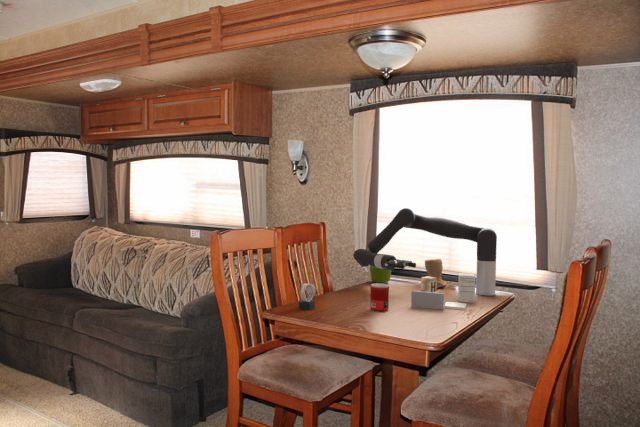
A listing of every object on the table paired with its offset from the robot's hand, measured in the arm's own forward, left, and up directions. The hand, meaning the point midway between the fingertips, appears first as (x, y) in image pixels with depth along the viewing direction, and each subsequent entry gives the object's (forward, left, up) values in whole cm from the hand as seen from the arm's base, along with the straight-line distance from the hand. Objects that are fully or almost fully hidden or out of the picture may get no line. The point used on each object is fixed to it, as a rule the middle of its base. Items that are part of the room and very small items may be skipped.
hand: (409, 266), depth 252 cm
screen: (+19, +11, -15) cm, 27 cm away
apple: (-34, -22, -16) cm, 44 cm away
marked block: (+9, +10, -15) cm, 21 cm away
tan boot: (-37, +7, -16) cm, 41 cm away
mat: (+12, +23, -15) cm, 30 cm away
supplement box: (-4, +26, -16) cm, 31 cm away
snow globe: (+41, -38, -16) cm, 57 cm away
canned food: (+31, -8, -16) cm, 35 cm away
